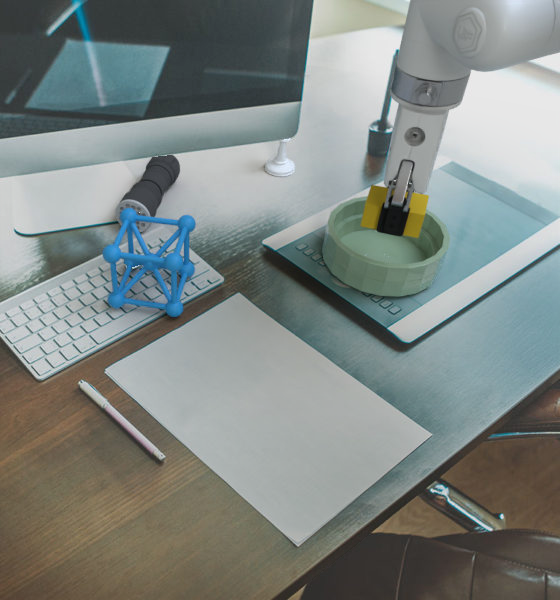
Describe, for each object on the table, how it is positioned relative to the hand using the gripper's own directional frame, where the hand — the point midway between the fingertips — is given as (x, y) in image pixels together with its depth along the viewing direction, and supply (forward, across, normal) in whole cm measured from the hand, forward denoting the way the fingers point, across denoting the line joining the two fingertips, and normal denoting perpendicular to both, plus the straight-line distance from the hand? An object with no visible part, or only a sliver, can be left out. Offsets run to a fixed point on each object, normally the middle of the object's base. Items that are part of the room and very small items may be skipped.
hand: (392, 220), depth 82 cm
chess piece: (+9, +21, +19) cm, 30 cm away
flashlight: (+9, +4, +35) cm, 37 cm away
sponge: (0, 0, 0) cm, 0 cm away
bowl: (+9, +3, 0) cm, 9 cm away
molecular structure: (+9, -14, +27) cm, 32 cm away
